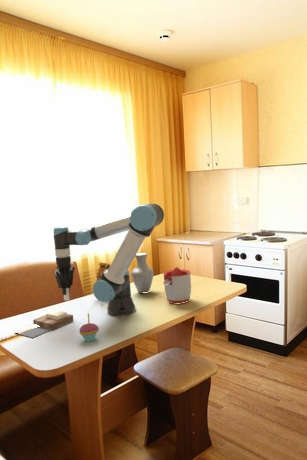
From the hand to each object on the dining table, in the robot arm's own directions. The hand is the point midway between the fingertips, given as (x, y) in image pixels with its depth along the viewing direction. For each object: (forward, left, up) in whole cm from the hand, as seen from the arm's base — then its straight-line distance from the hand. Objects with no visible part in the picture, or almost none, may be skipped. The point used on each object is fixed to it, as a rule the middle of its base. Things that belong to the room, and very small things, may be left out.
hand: (66, 300), depth 191 cm
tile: (0, +8, -7) cm, 10 cm away
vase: (-10, -54, -10) cm, 55 cm away
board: (+1, +9, -10) cm, 13 cm away
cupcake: (-32, +16, -10) cm, 38 cm away
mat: (+1, +22, -10) cm, 24 cm away
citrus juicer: (-41, -45, -10) cm, 62 cm away
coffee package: (+4, -36, -10) cm, 37 cm away
